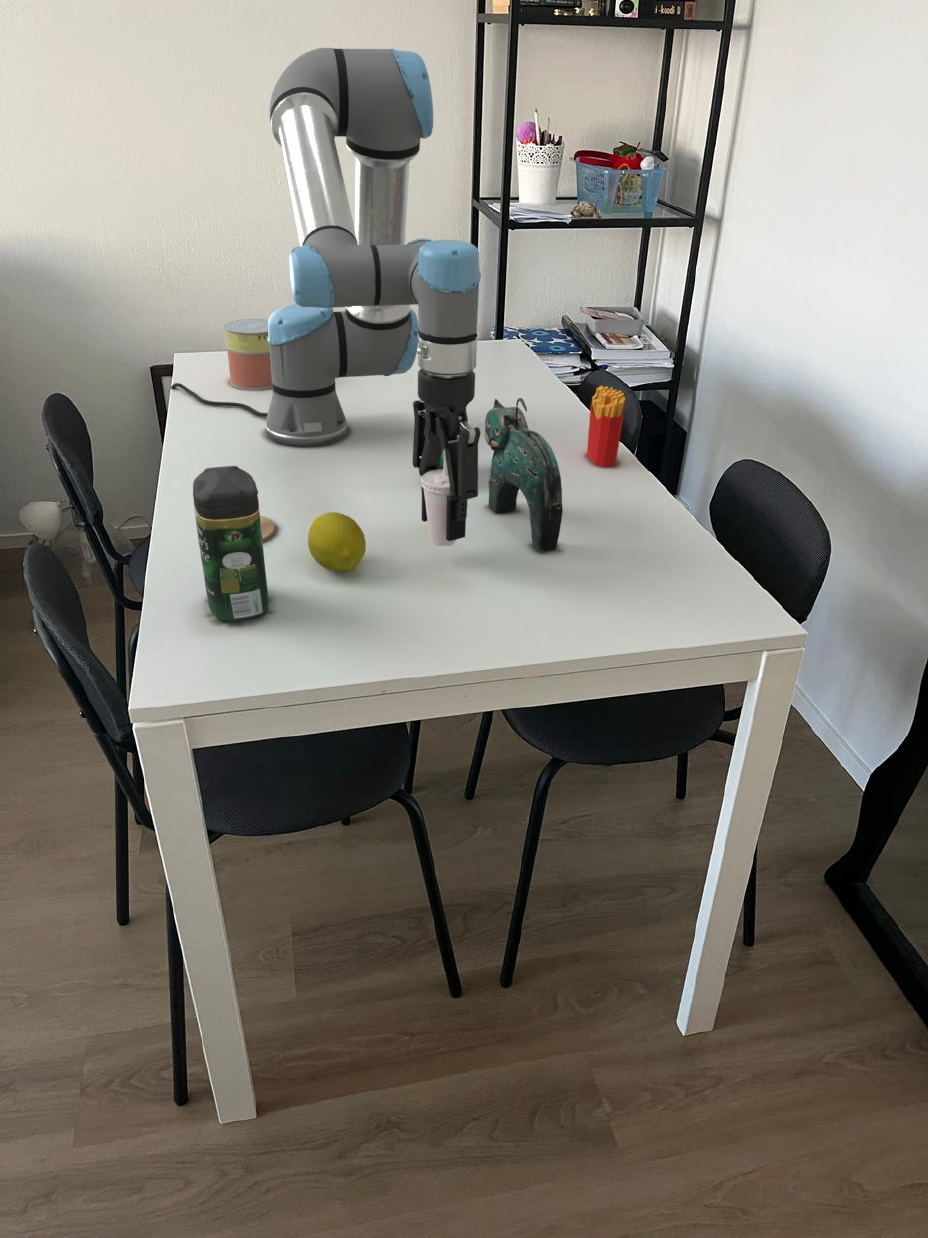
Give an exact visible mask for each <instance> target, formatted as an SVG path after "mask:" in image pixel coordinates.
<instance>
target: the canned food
mask: <svg viewBox="0 0 928 1238" xmlns="http://www.w3.org/2000/svg"><path fill="white" fill-rule="evenodd" d="M268 320H269V319H263V318H246V319H245V318H243V319H237V320H233V321H230V322H227V323H226V324H225V325H224V329H225V339H226V340H225V341H226V348H227V358H228V359H227V360H228V369H229V383H230V386H232V387H234V388H237V389H241V390H245V391H260V390H262V391H263V390H269V389H272V375H271V361H270V346H269V344H268V340H267V339H268Z"/></svg>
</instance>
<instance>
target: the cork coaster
mask: <svg viewBox="0 0 928 1238" xmlns="http://www.w3.org/2000/svg"><path fill="white" fill-rule="evenodd" d="M260 522H261V532H262V542H263V543H264V542H265V541H267V540H269V539H270V538H271V537H273V535H274V533H275V530H276V529H275V524H274V522H273V521H272V520H271V519H270V518H268V517H265V516H262V515H260Z"/></svg>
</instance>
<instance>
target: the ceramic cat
mask: <svg viewBox="0 0 928 1238" xmlns="http://www.w3.org/2000/svg"><path fill="white" fill-rule="evenodd" d="M493 403H494V404H493V406H492V408H491V409H490V410H489V411H487V413H486V416H485V420H484V421H485V423H484V424H485V425H484V439H485V442H486V443H487V445H488V446H489V447H490V449H491V451H493V454H492V458H491V464H490V473H489V479H488V507H489V508H490V509H491V511H493V512H494V513H496V514H506V513H512V512H516V510H517V502H518V501H517V499H518V495H519V490H520V491H521V493H522V495H523V496H524V498H525V500H526V504H527V506H528V511H529V520H530V533H531V545H532V547H533V549H534V550H536V551H538V552H540V553H545V552H549V551H555V550H557V547H558V543H559V536H560V533H561V525H562V519H563V510H564V509H563V508H564V507H563V490H562V489H563V488H562V477H561V472H560V467H559V463H558V461H557V457H556V455H555V453H554V451H553V448H552V447H551V445H550V444H549V442H548V441H547V440H546V439H545V437H543V435H542V434H540V433H539V432H537V431H535V430H530V428H529V427H528V422H527V419H526V417H525V413H524V412H523V411H522V409H520V407H519V403H521V406H522V408H523V409H524V411H525V412H527V411H528V407H527V404H526V401H524V399H523V398H522V397H518V398H517V400H516V403H515V405H516V406H508V407H506V406H504V405H502V403H501V402H500V401H499V400H498V399H497V398H495V399H494V401H493Z"/></svg>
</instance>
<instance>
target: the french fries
mask: <svg viewBox="0 0 928 1238" xmlns="http://www.w3.org/2000/svg"><path fill="white" fill-rule="evenodd" d="M625 403H626V397H625V393H624V392H622V390H621V389H620V390H617V389H614V387H610V388H609V386H603V385H600V386H598V387H597V388H596V390H595V393H594V395H593V396H592V397H591V403H590V405H589V406H590V408H589V422H588V434H587V448H586V457H587V458H588V459H589V460H590V462H592V464H593V465H595V466H598V467H601V468H612V467H614V466H615V465H616V464H617V460H618V452H619V446H620V439H621V434H622V427H623V421H624V415H625V414H624V412H623V410H624V407H625Z"/></svg>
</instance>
